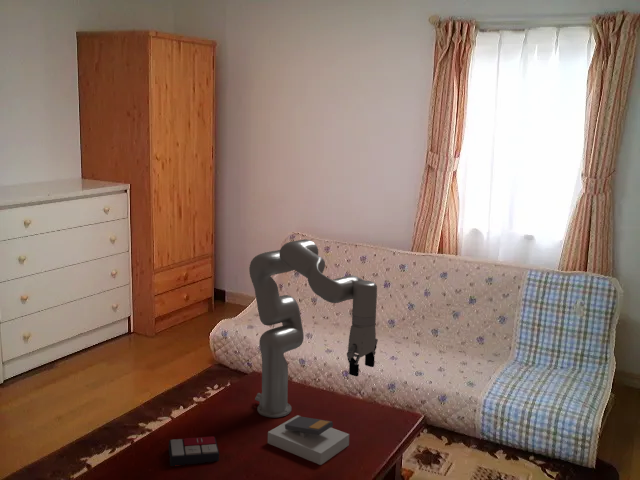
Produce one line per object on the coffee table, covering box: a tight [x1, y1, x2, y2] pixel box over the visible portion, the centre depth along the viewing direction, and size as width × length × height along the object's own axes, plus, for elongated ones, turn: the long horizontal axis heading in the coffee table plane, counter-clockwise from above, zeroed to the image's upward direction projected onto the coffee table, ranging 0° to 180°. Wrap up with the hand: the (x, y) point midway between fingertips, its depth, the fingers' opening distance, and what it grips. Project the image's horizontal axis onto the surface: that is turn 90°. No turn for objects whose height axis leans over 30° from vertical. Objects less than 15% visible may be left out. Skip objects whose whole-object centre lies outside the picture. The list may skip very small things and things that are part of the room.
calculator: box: [168, 436, 220, 467], centre depth 203 cm, size 11×4×15 cm
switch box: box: [267, 414, 350, 466], centre depth 211 cm, size 22×16×6 cm
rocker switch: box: [285, 415, 334, 435], centre depth 211 cm, size 14×8×2 cm, turn 54°
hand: (361, 370), depth 204 cm, fingers open, 9 cm apart
